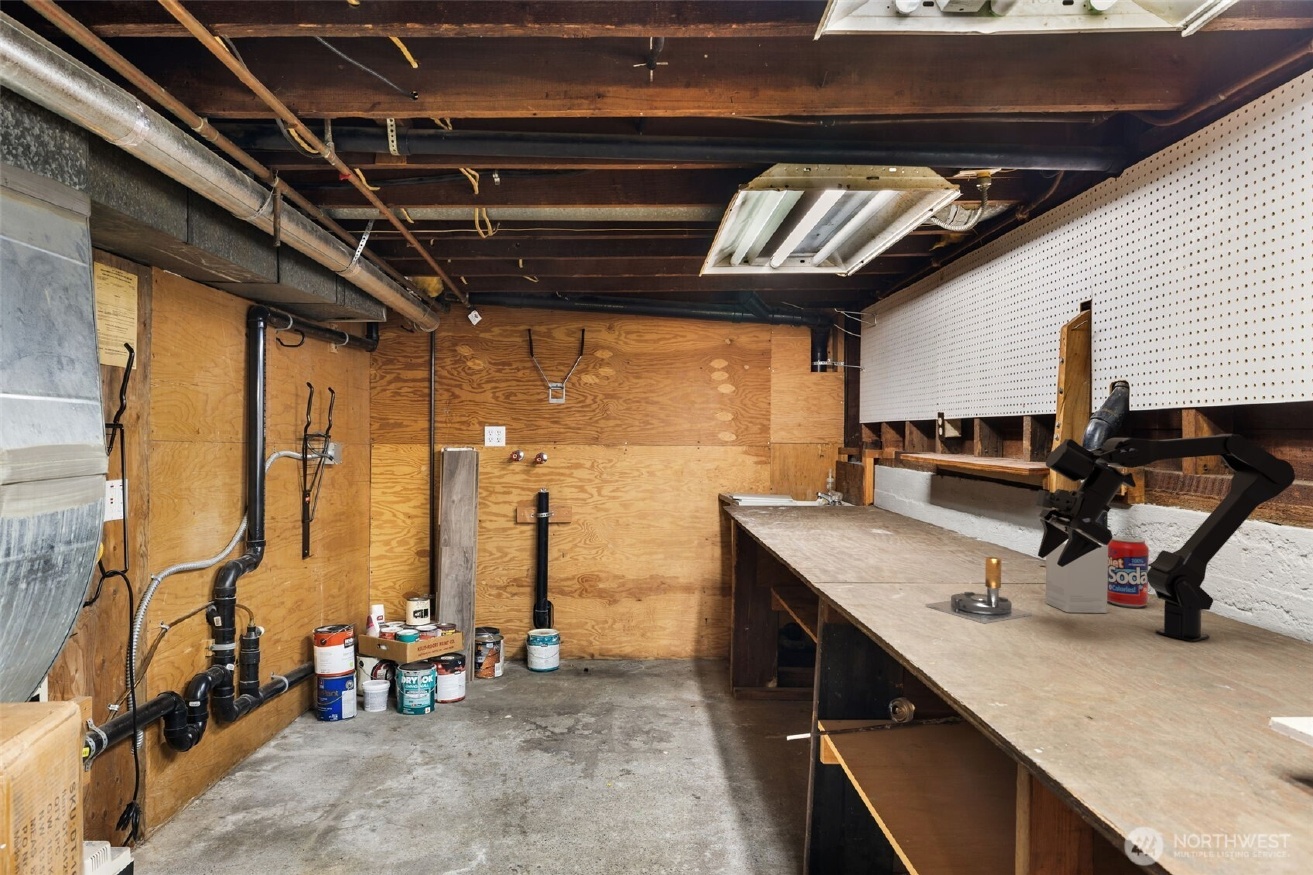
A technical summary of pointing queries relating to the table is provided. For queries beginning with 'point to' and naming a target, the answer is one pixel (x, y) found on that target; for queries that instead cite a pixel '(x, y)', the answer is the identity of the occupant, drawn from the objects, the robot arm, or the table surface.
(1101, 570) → the supplement box
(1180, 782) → the table surface
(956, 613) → the flange plate
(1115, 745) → the table surface
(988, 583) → the metal joystick
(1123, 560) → the soda can
